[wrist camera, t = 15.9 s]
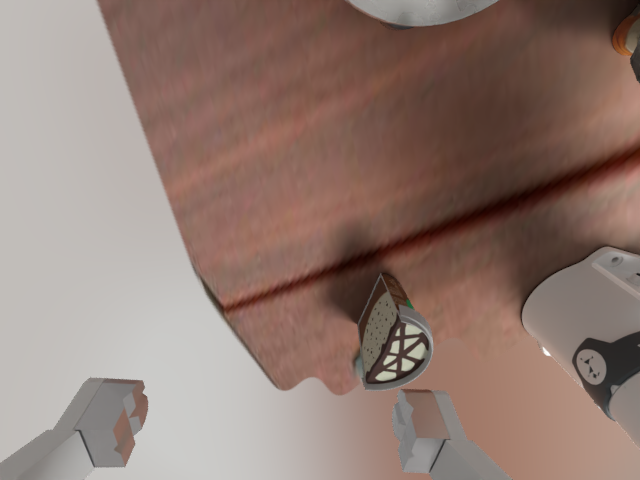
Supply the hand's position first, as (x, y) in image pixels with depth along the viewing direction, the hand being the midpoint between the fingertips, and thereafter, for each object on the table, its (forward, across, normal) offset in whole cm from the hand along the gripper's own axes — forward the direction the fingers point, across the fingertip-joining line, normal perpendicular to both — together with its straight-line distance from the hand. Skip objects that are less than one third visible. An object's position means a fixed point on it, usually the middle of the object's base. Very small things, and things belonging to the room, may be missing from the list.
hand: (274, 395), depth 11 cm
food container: (+29, -14, +20) cm, 38 cm away
